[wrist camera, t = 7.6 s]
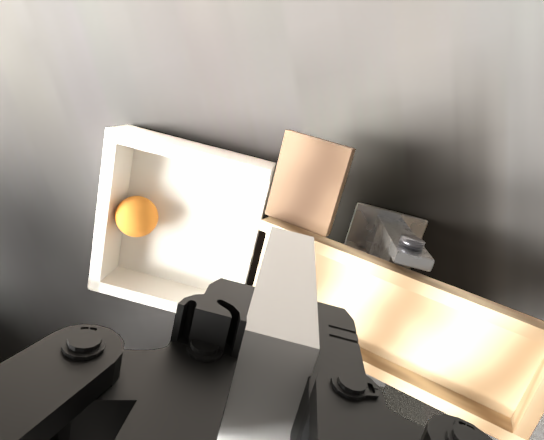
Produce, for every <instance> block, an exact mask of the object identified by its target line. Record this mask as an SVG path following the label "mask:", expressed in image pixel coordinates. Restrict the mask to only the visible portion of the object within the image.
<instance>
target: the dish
mask: <svg viewBox="0 0 544 440" xmlns="http://www.w3.org/2000/svg"><path fill="white" fill-rule="evenodd" d="M275 166H276V162H272V161H268V160H264V159H260V158H256V157H252V156H248V155H245V154H241V153H237V152H233V151H229V150H225V149H221V148H218V147H214V146H210V145H206V144H202V143H198V142H194V141H190V140H187V139H183V138H179V137H175V136H171V135H167V134H163V133H159V132H156V131H152V130H148V129H144V128H140V127H136V126H132V125H121V126H113V127H105V134H104V143H103V152H102V161H101V170H100V179H99V188H98V197H97V206H96V215H95V225H94V234H93V243H92V252H91V261H90V270H89V279H88V288H87V289H89V290H92V291H96V292H100V293H103V294H107V295H111V296H114V297H118V298H122V299H126V300H129V301H133V302H137V303H140V304H144V305H148V306H152V307H155V308H159V309H163V310H166V311H170V312H174V313H176V310H177V304H178V303H179V302H180V301H181V300H182V299H183V298H185V297H188V296H192V295H195V294H204V293H205V291H206V290H207V288H208V286H209V284H211V283H213V282H214V281H216V280H218V279H220V278H223V279H227V280H231V281H234V282H238V283H242V284H247V280H248V276H249V271H250V267H251V263H252V259H253V255H254V251H255V247H256V243H257V239H258V235H259V231H260V230H259V227H260V223H261V220H262V219H263V214H264V210H265V206H266V202H267V198H268V194H269V190H270V186H271V182H272V178H273V174H274V170H275ZM131 196H142V197H145V198H147V199H149V200H150V201H152V202H153V204H154V205H155V206H156V208H157V211H158V222H157V225H156V227H155V228H154V230H153V231H152V232H150V233H149V234H147V235H145V236H142V237H131V236H128V235H126V234H124V233H123V232H122V231H120V229H119V228H118V227H117V225H116V222H115V211H116V208H117V206H118V205H119V204H120V202H122V201H123V200H124V199H126V198H128V197H131Z"/></svg>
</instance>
